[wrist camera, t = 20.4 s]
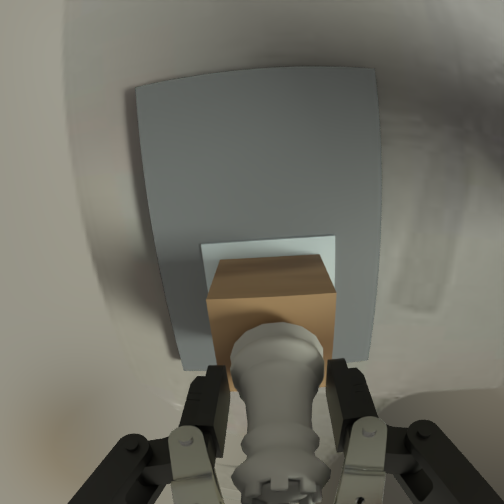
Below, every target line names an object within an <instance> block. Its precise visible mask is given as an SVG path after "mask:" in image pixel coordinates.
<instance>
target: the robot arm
mask: <svg viewBox="0 0 504 504" xmlns="http://www.w3.org/2000/svg"><path fill="white" fill-rule="evenodd" d="M326 397H327V402H328V408H329V413H330V418H331V423H332V429H333V434H334V440H335V445H336V451H337V452H344V457H345V459H344V464H343V468H342V472H341V477H340V481H339V485H338V489H337V493H336V497H335V501H334V504H382V499H383V492H384V484H385V475H386V473H390V474H393V475H394V477H395V478H396V480H397V481H398V483H399V484H400V485H401V487H402V488H403V490H404V491H405V493H406V494H407V496H408V497H409V498H410V500H411V501H412V503H413V504H504V501H503V500H502V499H501V498H500V497H499V496H498V494H497V493H496V492H495V491H494V490H493V488H492V487H491V486H490V485H489V484H488V483H487V481H486V480H485V479H484V478H483V477H482V476H481V475H480V473H479V472H478V471H477V470H476V469H475V468H474V467H473V465H472V464H471V463H470V462H469V461H468V460H467V459H466V457H465V456H464V455H463V454H462V453H461V452H460V451H459V450H458V449H457V447H456V446H455V445H454V444H453V443H452V442H451V440H450V439H449V438H448V437H447V436H446V435H445V434H444V433H443V432H442V430H441V429H440V428H439V427H438V426H437V425H436V424H435V423H433V422H432V421H429V420H418V421H415V422H414V423H412V424H411V425H410V426H409V428H401V427H392V426H389V425H386V424H385V423H384V421H382V420H381V419H379V417H378V415H377V412H376V409H375V406H374V403H373V400H372V397H371V395H370V392H369V389H368V386H367V384H366V380H365V377H364V375H363V374H362V373H361V372H360V371H359V370H358V369H357V368H349V369H348V367H347V364H346V361H345V358H338V359H328V361H327V373H326ZM229 406H230V388H229V382H228V377H227V371H226V366H225V365H208V368H207V372H206V376H197V377H196V378H195V379H194V381H193V382H192V383H191V384H190V388H189V391H188V395H187V399H186V402H185V406H184V410H183V413H182V417H181V421H180V424H179V427H178V428H176V429H175V430H173V431H172V432H171V433H170V435H169V437H166V438H163V439H156V440H150V441H148V440H147V439H146V438H145V437H144V436H142V435H140V434H128V435H126V436H124V437H122V438H121V439H120V440H119V441H118V442H117V444H116V445H115V446H114V447H113V449H112V450H111V451H110V452H109V454H108V455H107V456H106V457H105V459H104V460H103V461H102V462H101V463H100V465H99V466H98V467H97V468H96V470H95V471H94V472H93V473H92V475H91V476H90V477H89V478H88V479H87V481H86V482H85V483H84V484H83V485H82V487H81V488H80V489H79V490H78V492H77V493H76V494H75V495H74V496H73V498H72V499H71V500H70V501H69V502H68V504H154V503H155V501H156V500H157V498H158V497H159V495H160V494H161V492H162V491H163V489H164V487H165V486H166V484H170V483H171V489H172V495H173V502H174V504H225V503H224V500H223V497H222V493H221V490H220V486H219V482H218V479H217V475H216V471H215V468H214V467H215V459H216V458H223V452H224V444H225V436H226V429H227V421H228V413H229Z"/></svg>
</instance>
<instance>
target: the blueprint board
mask: <svg viewBox="0 0 504 504" xmlns="http://www.w3.org/2000/svg"><path fill="white" fill-rule="evenodd" d="M135 91H136V104H137V116H138V127H139V137H140V146H141V155H142V163H143V171H144V179H145V186H146V193H147V200H148V206H149V213H150V219H151V225H152V231H153V236H154V242H155V247H156V253H157V258H158V263H159V268H160V273H161V278H162V283H163V287H164V292H165V297H166V301H167V306H168V310H169V314H170V318H171V323H172V327H173V331H174V335H175V339H176V343H177V347H178V351H179V354H180V358H181V362H182V366H183V369H184V371H207V368H208V365H217V362H216V357H215V351H214V345H213V339H212V334H211V328H210V321H209V315H208V309H207V302H206V298H207V295H208V292H209V289H210V287H211V284H212V281H213V278H214V275H215V272H216V269H217V266H218V264H219V261H220V260H222V259H241V258H260V257H278V256H296V255H314V254H320V256H321V258H322V261H323V263H324V265H325V267H326V270H327V272H328V274H329V276H330V279H331V281H332V283H333V286H334V288H335V290H336V293H337V294H336V312H335V327H334V340H333V352H332V359H338V358H345V361H346V363H349V362H357V361H364V360H368V357H369V351H370V344H371V337H372V329H373V322H374V313H375V304H376V295H377V284H378V272H379V258H380V241H381V213H382V162H381V135H380V118H379V105H378V93H377V83H376V74H375V69H373V68H359V67H334V66H298V67H273V68H257V69H245V70H235V71H226V72H218V73H210V74H203V75H196V76H190V77H184V78H178V79H173V80H167V81H162V82H157V83H153V84H148V85H144V86H139V87H135Z"/></svg>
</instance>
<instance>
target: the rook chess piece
mask: <svg viewBox="0 0 504 504" xmlns="http://www.w3.org/2000/svg"><path fill="white" fill-rule="evenodd" d="M230 359H231V367H230V372H231V377H232V381H233V385H234V388H235V389H236V390H237V391H238V392H239V395H240V398H241V399H242V400H243V401H244V402H245V404H246V413H247V421H248V428H247V434H246V435H245V436H244V438H243V440H242V442H241V447H242V450H243V452H244V453H245V454H246V455H247V459H246V460H245V461H244V462H243V463H242V464H241V465H239V466H238V467H237V468H236V469H235V471H234V472H233V474H232V476H231V478H232V481H233V483H234V485H235V486H236V488H237V489H238V490H239V491H240V492H241V493H242V495H241V503H242V504H295V503H299V504H315V502H321V501H322V488H323V487H324V485H325V484H326V483H327V482H328V480H329V479H330V474H331V470H330V468H329V467H328V466H327V465H326V464H325V463H324V462H323V461H321V460H320V459H319V458H317V457H316V456H315V453H314V452H315V451H316V449H317V448H318V447H319V437H318V435H317V434H316V433H315V432H314V430H313V429H312V421H311V418H312V402H313V399H314V397H315V395H316V393H317V392H318V388H319V386H320V385H321V383H322V381H323V378H324V359H323V348H322V346H321V344H320V342H319V341H318V339H317V337H316V336H315V335H314V334H312V333H311V332H309V331H308V330H307V329H305V328H304V327H302V326H298V325H294V324H290V323H285V322H277V323H267V324H262V325H259V326H257V327H255V328H253V329H250V330H248V331H246V332H245V333H244V334H243V335H242V336H241V337H240V338H239V339H238V340H237V341H236V342H235V343H234V346H233V349H232V353H231V356H230Z"/></svg>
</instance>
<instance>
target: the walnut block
mask: <svg viewBox="0 0 504 504" xmlns="http://www.w3.org/2000/svg"><path fill="white" fill-rule="evenodd" d="M336 294H337V293H336V290H335V288H334V286H333V283H332V281H331V279H330V276H329V274H328V272H327V270H326V267H325V265H324V263H323V261H322V258H321V256H320V254H314V255H296V256H278V257H260V258H241V259H222V260H220V261H219V264H218V266H217V269H216V272H215V275H214V278H213V281H212V284H211V287H210V289H209V292H208V295H207V298H206V302H207V309H208V315H209V321H210V328H211V334H212V339H213V345H214V351H215V357H216V362H217V365H225V366H226V371H227V377H228V382H229V388H230V391H237V390H236V389H235V388H234V385H233V381H232V377H231V372H230V367H231V359H230V356H231V353H232V349H233V346H234V343H235V342H236V341H237V340H238V339H239V338H240V337H241V336H242V335H243V334H244V333H245V332H246V331H248V330H250V329H253V328H255V327H257V326H259V325H262V324H267V323H277V322H285V323H290V324H294V325H298V326H302V327H304V328H305V329H307V330H308V331H309V332H311V333H312V334H314V335H315V336H316V337H317V339H318V341H319V342H320V344H321V346H322V348H323V359H324V378H323V381H322V383H321V385H320V386H319V387H326V373H327V361H328V359H332V352H333V340H334V327H335V312H336Z"/></svg>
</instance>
